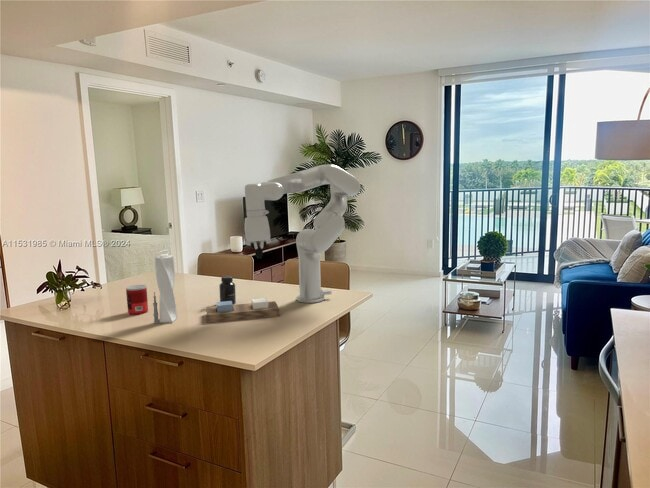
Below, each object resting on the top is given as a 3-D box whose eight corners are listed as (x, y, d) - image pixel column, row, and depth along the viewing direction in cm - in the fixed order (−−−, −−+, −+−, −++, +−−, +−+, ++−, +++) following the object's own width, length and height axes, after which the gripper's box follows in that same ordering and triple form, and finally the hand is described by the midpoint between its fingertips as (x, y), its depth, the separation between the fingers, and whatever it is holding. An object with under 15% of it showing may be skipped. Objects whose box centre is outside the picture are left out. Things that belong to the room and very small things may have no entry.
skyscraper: (161, 318, 192) (156, 249, 188) (181, 317, 192) (176, 248, 188) (153, 324, 183) (148, 252, 179) (174, 324, 183) (169, 252, 179)
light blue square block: (232, 308, 194) (231, 300, 193) (232, 312, 188) (232, 304, 188) (217, 309, 192) (216, 302, 192) (217, 313, 187) (216, 305, 186)
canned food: (152, 310, 202) (150, 285, 201) (139, 315, 195) (137, 289, 193) (137, 309, 205) (135, 284, 203) (124, 314, 197) (121, 288, 196)
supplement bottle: (232, 306, 206) (230, 278, 205) (217, 305, 208) (216, 278, 206) (238, 301, 213) (237, 275, 211) (224, 301, 214) (222, 275, 213)
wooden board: (275, 308, 201) (275, 301, 201) (279, 316, 190) (279, 308, 189) (207, 314, 195) (206, 307, 194) (207, 322, 183) (206, 315, 183)
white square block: (266, 305, 197) (266, 298, 197) (268, 309, 191) (268, 301, 191) (252, 306, 196) (251, 299, 195) (253, 310, 190) (253, 302, 190)
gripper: (272, 211, 201) (275, 254, 204) (236, 214, 197) (240, 258, 200) (275, 213, 194) (278, 257, 197) (238, 216, 190) (242, 261, 193)
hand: (259, 257), depth 198 cm, fingers closed
